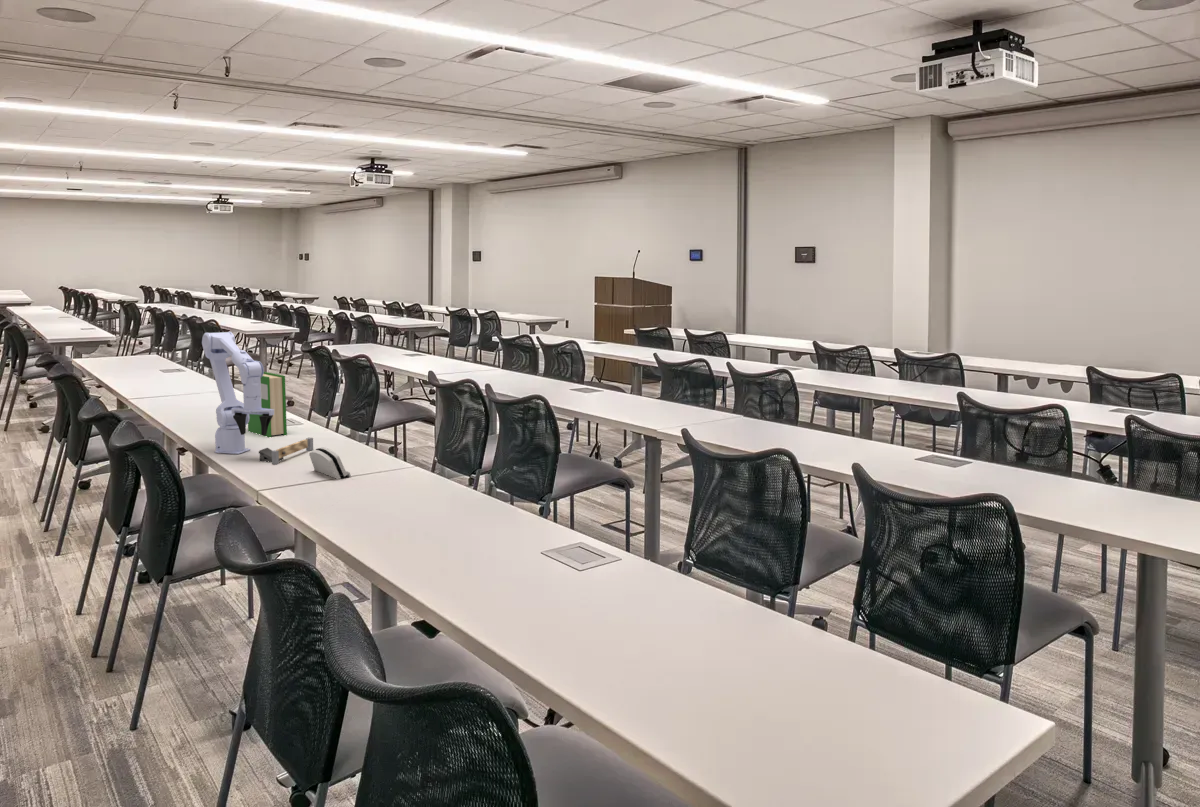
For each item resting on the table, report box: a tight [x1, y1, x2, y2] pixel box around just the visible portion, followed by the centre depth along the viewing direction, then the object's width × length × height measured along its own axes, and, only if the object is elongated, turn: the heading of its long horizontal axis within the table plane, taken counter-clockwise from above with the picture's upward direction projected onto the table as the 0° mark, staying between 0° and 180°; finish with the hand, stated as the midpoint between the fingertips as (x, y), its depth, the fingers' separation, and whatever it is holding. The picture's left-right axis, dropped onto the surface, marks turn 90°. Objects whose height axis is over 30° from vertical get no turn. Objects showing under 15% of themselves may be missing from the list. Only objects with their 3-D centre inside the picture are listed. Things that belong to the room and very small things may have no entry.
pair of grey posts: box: [271, 437, 314, 465], centre depth 305 cm, size 2×25×4 cm, turn 170°
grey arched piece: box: [308, 446, 352, 480], centre depth 281 cm, size 17×5×10 cm, turn 43°
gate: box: [275, 438, 308, 458], centre depth 305 cm, size 21×2×3 cm, turn 170°
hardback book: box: [247, 371, 288, 438], centre depth 344 cm, size 18×7×24 cm, turn 48°
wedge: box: [258, 447, 284, 463], centre depth 298 cm, size 6×5×4 cm
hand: (253, 434), depth 300 cm, fingers open, 7 cm apart
